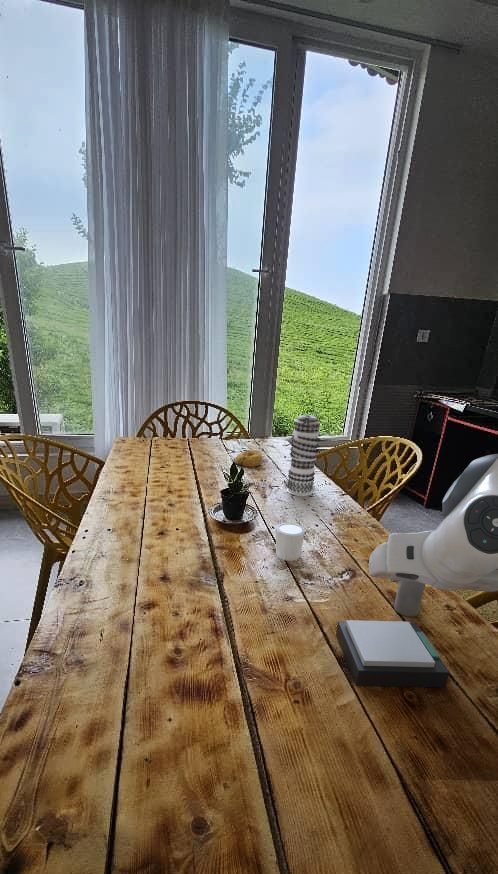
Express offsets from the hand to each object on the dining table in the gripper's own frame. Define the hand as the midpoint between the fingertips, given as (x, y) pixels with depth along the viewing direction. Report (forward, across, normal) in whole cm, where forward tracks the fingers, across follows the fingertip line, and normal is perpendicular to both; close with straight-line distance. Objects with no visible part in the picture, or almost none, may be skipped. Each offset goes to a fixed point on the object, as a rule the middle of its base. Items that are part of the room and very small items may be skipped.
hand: (420, 581), depth 80 cm
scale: (-1, +6, +14) cm, 16 cm away
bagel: (+71, +43, -58) cm, 101 cm away
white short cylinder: (+22, +24, -8) cm, 33 cm away
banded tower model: (+54, +22, -40) cm, 70 cm away
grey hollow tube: (+10, 0, +4) cm, 11 cm away
